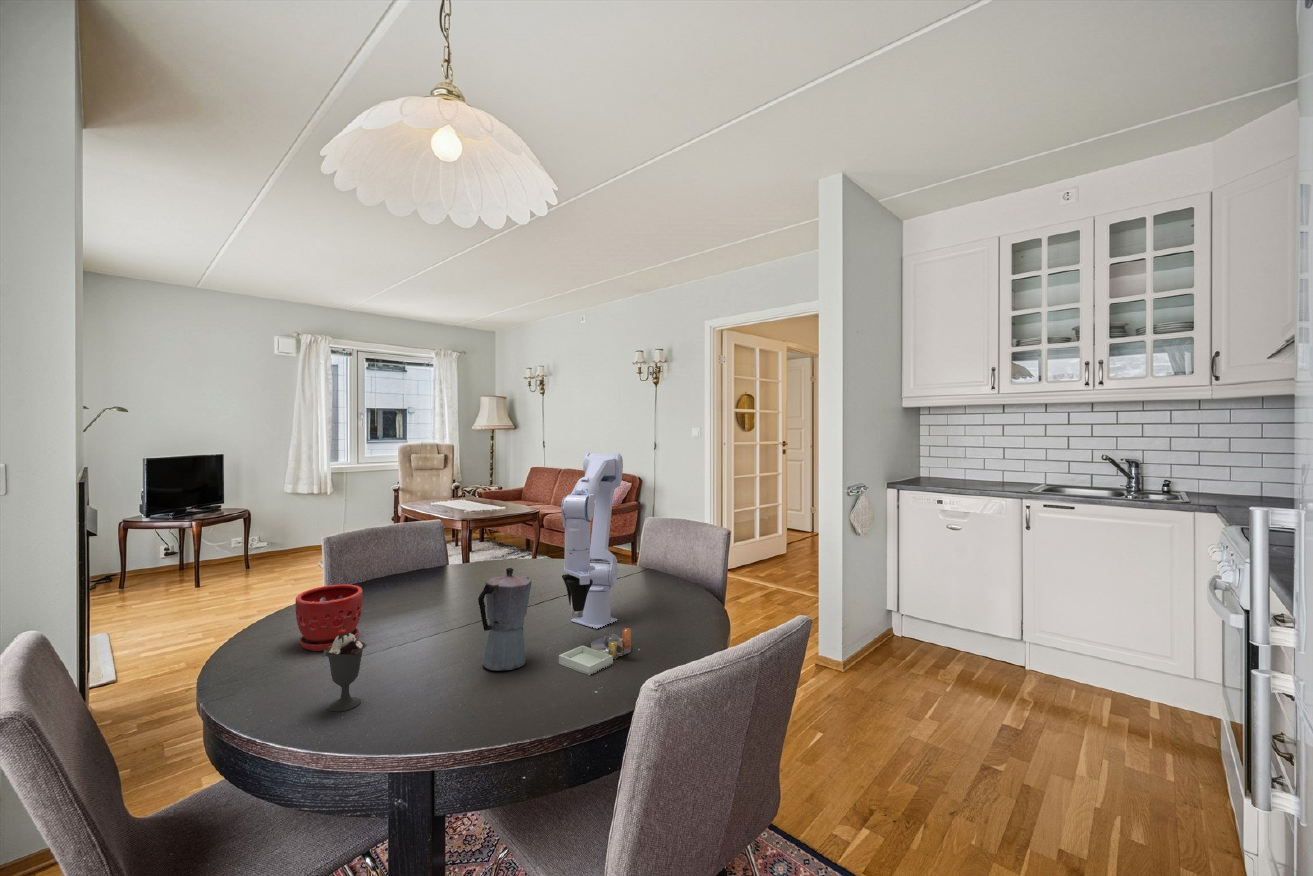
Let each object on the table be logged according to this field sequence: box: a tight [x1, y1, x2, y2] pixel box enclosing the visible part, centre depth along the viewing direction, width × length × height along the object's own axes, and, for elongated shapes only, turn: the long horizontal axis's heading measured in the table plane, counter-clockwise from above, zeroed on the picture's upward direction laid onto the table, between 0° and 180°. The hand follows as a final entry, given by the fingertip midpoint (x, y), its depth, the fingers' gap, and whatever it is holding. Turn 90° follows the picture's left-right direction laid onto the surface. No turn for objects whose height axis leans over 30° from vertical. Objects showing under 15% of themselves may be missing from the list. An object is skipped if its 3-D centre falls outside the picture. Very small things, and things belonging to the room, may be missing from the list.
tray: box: [558, 644, 614, 677], centre depth 114 cm, size 9×7×2 cm
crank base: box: [590, 636, 624, 660], centre depth 121 cm, size 9×9×3 cm
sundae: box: [323, 619, 368, 712], centre depth 95 cm, size 7×7×15 cm
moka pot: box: [477, 567, 532, 672], centre depth 113 cm, size 10×15×20 cm, turn 161°
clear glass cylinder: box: [570, 598, 583, 619], centre depth 121 cm, size 3×3×6 cm
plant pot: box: [295, 584, 364, 652], centre depth 123 cm, size 13×13×12 cm
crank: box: [603, 627, 632, 654], centre depth 119 cm, size 9×3×5 cm, turn 36°
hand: (576, 608), depth 121 cm, fingers closed on clear glass cylinder, 3 cm apart
